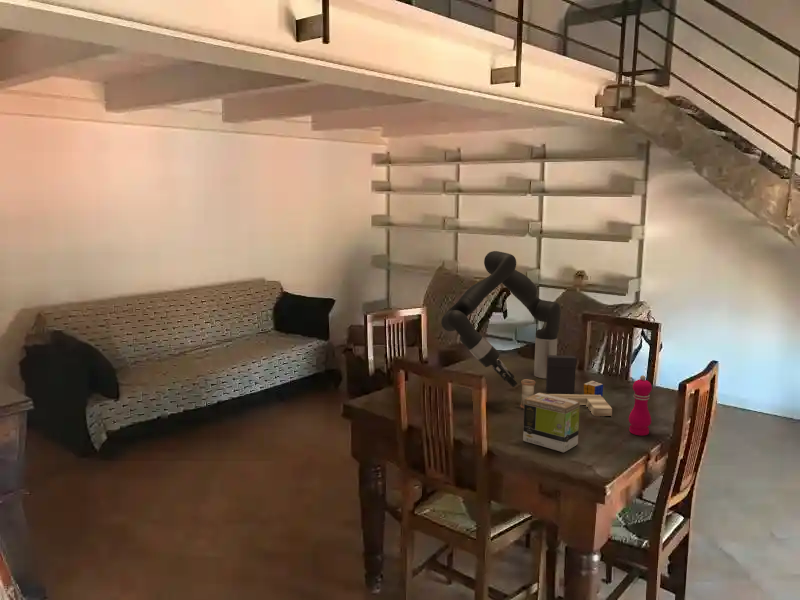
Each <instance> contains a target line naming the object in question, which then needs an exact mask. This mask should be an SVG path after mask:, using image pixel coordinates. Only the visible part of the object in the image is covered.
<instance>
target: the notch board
mask: <svg viewBox="0 0 800 600" xmlns="http://www.w3.org/2000/svg"><path fill="white" fill-rule="evenodd" d="M548 394H549V395H553V396H558V397H562V398H567V399H571V400H576V401H580V405H586V406H585V407H586V408H587V407H588V408H587V409H588V410H589V412H590V411H591V412H590V413H591V414H592V416H593V415H594V416H593V417H600V416H611V418H612V417H613V408H612V407H611V405H610V404H609V403H608V402H607V401H606V400H605V398H604V396H601V395H584V394H576V393H574V394H566V393H548Z"/></svg>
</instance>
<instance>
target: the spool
mask: <svg viewBox="0 0 800 600" xmlns="http://www.w3.org/2000/svg"><path fill="white" fill-rule="evenodd" d="M520 383H521V403H520V405H519V406H520V408H521V409H523V410H524V400H525V398H528V397H530V396H532V395H535V385H536V381H535V380H534V379H522V380H521V382H520Z"/></svg>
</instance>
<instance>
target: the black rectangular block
mask: <svg viewBox="0 0 800 600" xmlns="http://www.w3.org/2000/svg"><path fill="white" fill-rule="evenodd" d="M576 369H577V358H576V356H575V355H561V354H560V355H548V356H547V375H546V378H545V379H546V380H545V392H546V394H566V393H568V394H575V388H576V387H575V386H576Z"/></svg>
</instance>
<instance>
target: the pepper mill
mask: <svg viewBox="0 0 800 600" xmlns="http://www.w3.org/2000/svg"><path fill="white" fill-rule="evenodd" d="M652 389H653V387H652V383H651V382H650V381H649V380H647V378H646V375H644V374H642V375H640V377H639V379H637V380H635V381H634V382H633V384H632V390H633V392H634V393H633V398H634V405H633V408H632V410H631V411H630V413H629V415H628V423H629V424H630V425H629V433H631V434H633V435H636V436H642V437H643V436H648V435H649V433H650V428H649V426H651V424H652V417H651V414H650V411H649V407H648V401H649V400H650V396H651V395H650V393H651V392H652Z"/></svg>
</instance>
